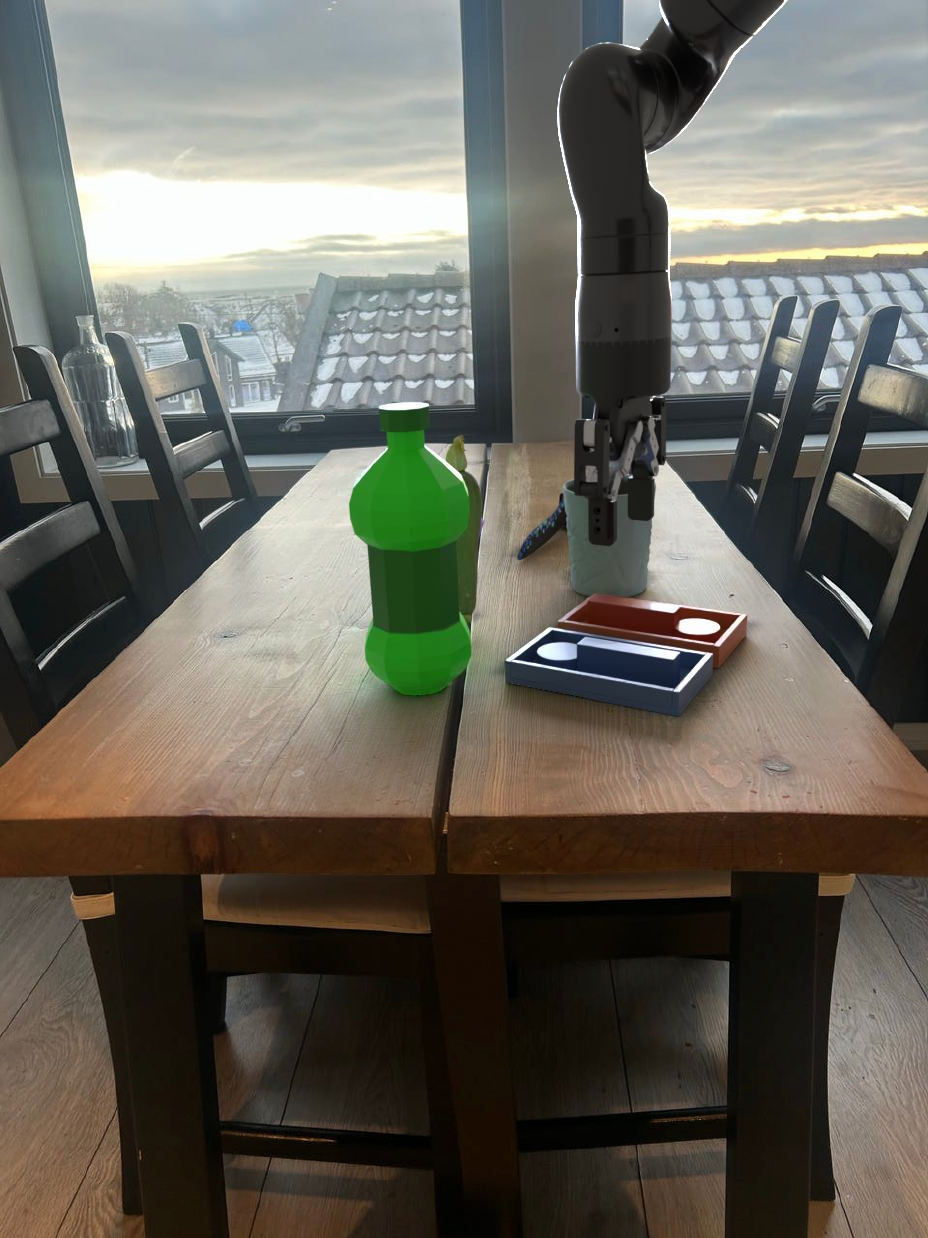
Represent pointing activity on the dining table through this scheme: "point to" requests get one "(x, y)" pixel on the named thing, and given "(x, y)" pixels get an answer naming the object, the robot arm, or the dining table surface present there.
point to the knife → (544, 531)
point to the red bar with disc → (649, 619)
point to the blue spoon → (615, 660)
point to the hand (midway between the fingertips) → (622, 531)
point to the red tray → (729, 636)
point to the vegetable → (467, 533)
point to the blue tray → (609, 689)
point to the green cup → (607, 548)
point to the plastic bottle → (412, 556)
